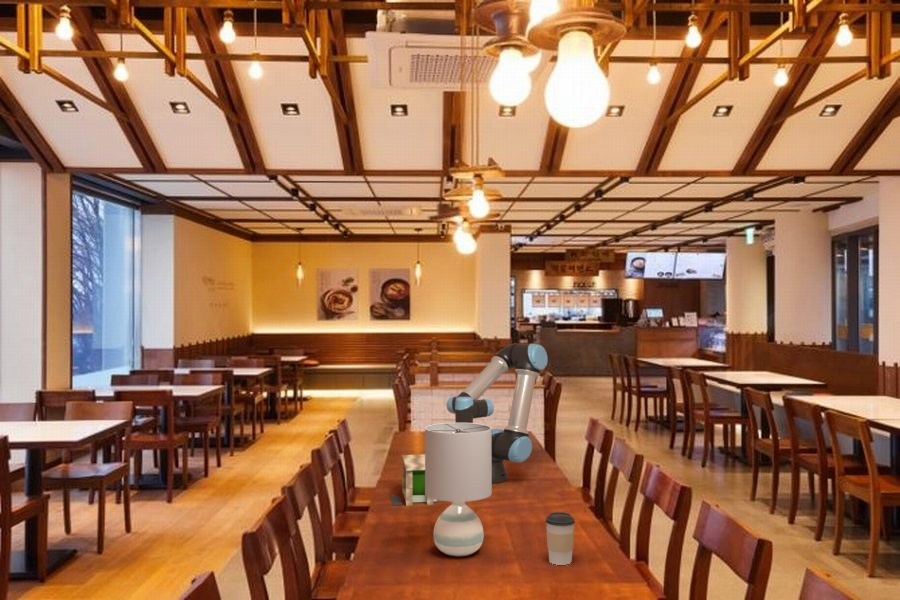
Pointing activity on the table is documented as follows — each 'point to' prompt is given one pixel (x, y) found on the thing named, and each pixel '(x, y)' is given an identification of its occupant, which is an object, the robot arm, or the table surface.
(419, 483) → the cup
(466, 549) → the lamp
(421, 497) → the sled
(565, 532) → the coffee cup
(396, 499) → the pit mat
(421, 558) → the table surface
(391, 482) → the table surface
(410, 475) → the bridge
